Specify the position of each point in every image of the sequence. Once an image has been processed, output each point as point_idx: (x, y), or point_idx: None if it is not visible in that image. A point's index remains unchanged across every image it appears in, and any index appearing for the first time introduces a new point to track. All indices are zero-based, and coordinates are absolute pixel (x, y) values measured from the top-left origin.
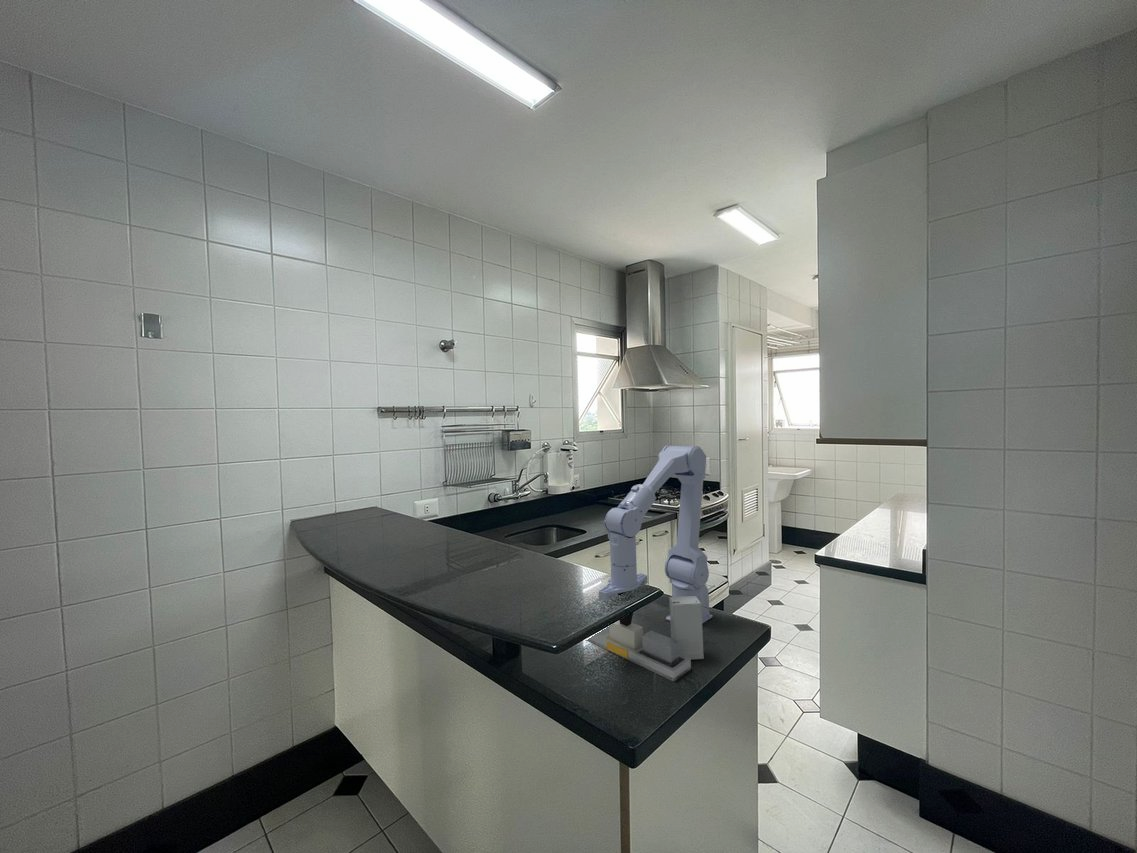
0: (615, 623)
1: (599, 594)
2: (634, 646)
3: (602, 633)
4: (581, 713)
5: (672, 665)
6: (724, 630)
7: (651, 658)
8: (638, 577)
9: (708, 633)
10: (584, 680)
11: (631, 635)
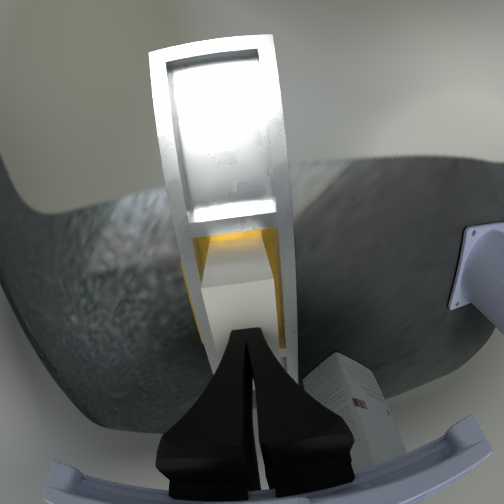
0: (213, 318)
1: (49, 485)
2: None
3: (243, 156)
4: (47, 368)
5: None
6: (462, 335)
7: None
8: (416, 501)
9: (443, 331)
10: (67, 317)
11: None
